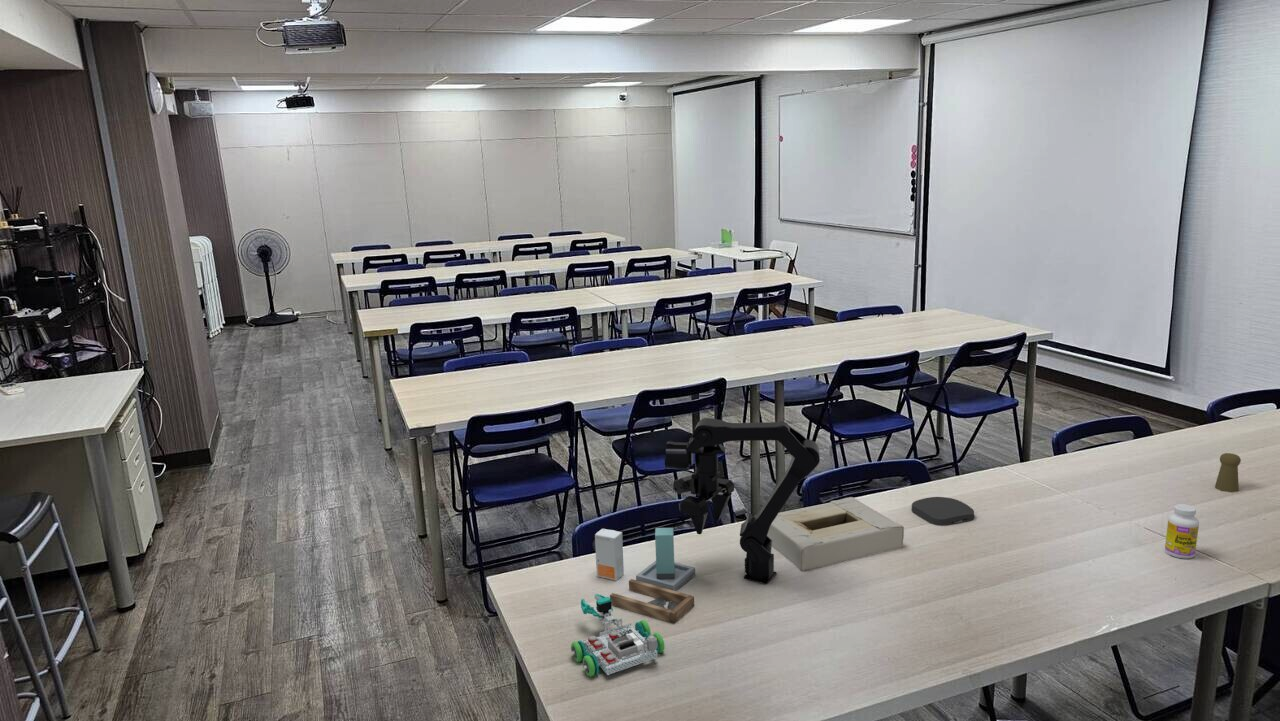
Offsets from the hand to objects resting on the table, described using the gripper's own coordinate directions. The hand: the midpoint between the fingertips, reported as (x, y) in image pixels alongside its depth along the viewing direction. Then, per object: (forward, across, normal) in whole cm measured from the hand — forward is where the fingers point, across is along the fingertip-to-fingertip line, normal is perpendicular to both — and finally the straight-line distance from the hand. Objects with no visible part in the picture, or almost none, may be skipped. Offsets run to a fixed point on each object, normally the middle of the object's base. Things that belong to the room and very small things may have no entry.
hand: (708, 527), depth 213 cm
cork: (+13, -125, +112) cm, 168 cm away
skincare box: (+13, +13, -22) cm, 29 cm away
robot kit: (+14, +40, -4) cm, 42 cm away
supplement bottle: (+13, -68, +101) cm, 122 cm away
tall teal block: (+12, +8, -8) cm, 17 cm away
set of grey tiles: (+13, +21, -1) cm, 24 cm away
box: (+14, -32, +20) cm, 40 cm away
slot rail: (+13, +20, -4) cm, 25 cm away
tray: (+13, +8, -8) cm, 17 cm away
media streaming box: (+14, -66, +42) cm, 79 cm away
